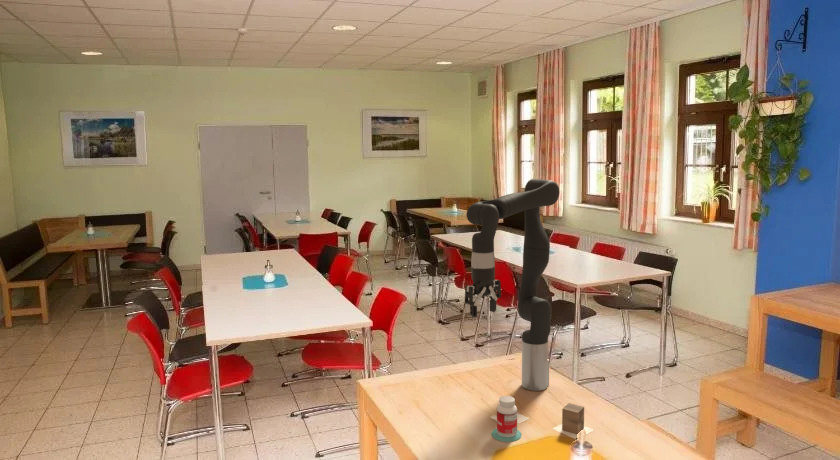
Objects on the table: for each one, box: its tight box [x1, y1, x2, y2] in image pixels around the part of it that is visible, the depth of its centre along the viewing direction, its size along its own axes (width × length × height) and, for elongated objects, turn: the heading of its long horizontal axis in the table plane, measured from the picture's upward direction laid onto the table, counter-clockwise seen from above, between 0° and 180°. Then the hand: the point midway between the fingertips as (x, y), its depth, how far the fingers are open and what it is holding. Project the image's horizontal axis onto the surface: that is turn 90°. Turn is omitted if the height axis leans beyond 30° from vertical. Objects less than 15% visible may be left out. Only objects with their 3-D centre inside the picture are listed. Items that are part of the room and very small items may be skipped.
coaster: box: [491, 427, 522, 443], centre depth 181 cm, size 9×9×1 cm
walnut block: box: [561, 402, 585, 434], centre depth 183 cm, size 5×5×7 cm
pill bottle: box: [496, 395, 518, 438], centre depth 181 cm, size 6×6×11 cm
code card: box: [489, 412, 530, 425], centre depth 192 cm, size 9×9×1 cm
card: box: [552, 423, 594, 440], centre depth 184 cm, size 9×9×1 cm
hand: (483, 314), depth 194 cm, fingers open, 8 cm apart
